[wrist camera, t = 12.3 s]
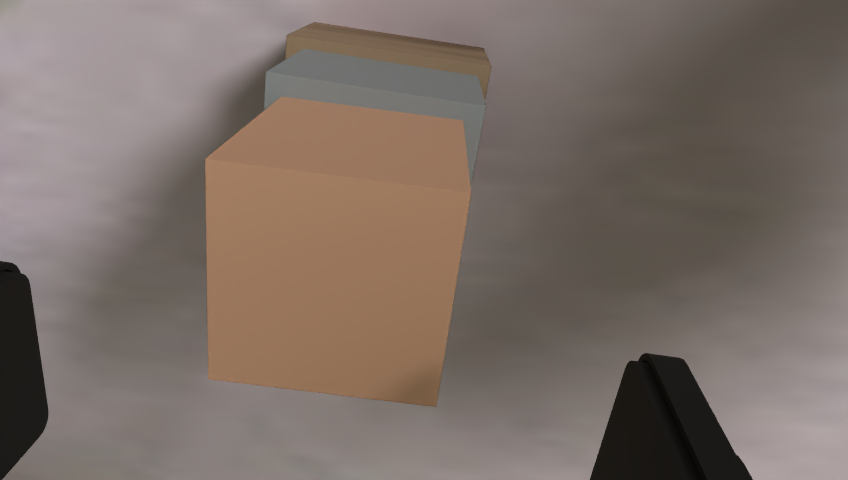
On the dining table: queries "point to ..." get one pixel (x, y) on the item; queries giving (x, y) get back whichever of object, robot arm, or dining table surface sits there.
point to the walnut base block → (392, 49)
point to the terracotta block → (335, 250)
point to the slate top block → (381, 89)
